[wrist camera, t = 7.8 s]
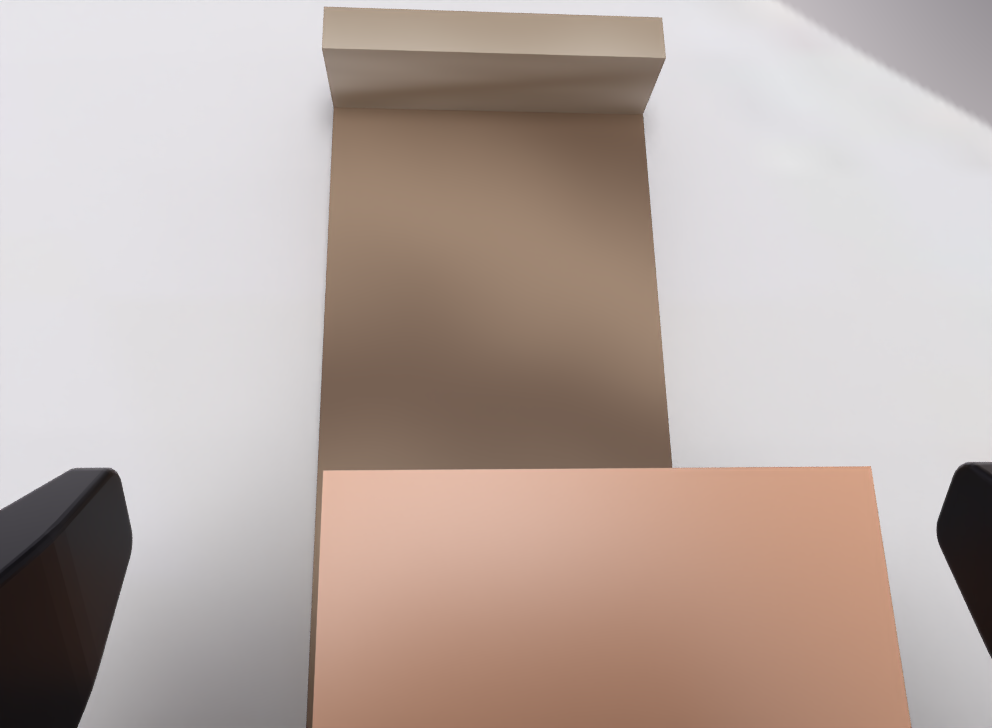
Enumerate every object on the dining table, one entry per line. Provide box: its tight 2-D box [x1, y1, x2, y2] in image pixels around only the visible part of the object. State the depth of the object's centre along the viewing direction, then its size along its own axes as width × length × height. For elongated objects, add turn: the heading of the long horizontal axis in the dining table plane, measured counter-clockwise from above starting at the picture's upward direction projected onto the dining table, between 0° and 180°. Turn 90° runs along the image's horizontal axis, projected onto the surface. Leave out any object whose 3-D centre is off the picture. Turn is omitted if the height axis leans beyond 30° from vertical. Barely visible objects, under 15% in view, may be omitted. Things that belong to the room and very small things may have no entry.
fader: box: [312, 466, 911, 728], centre depth 10 cm, size 5×6×10 cm
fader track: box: [306, 7, 672, 728], centre depth 16 cm, size 17×7×3 cm, turn 1°
